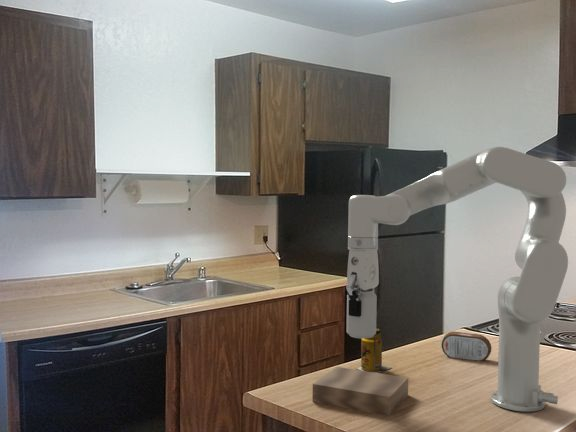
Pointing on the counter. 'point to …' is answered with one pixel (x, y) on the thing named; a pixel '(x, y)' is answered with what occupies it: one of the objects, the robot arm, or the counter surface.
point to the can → (363, 316)
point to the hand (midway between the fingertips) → (361, 312)
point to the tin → (466, 346)
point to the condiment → (372, 354)
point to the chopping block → (361, 390)
